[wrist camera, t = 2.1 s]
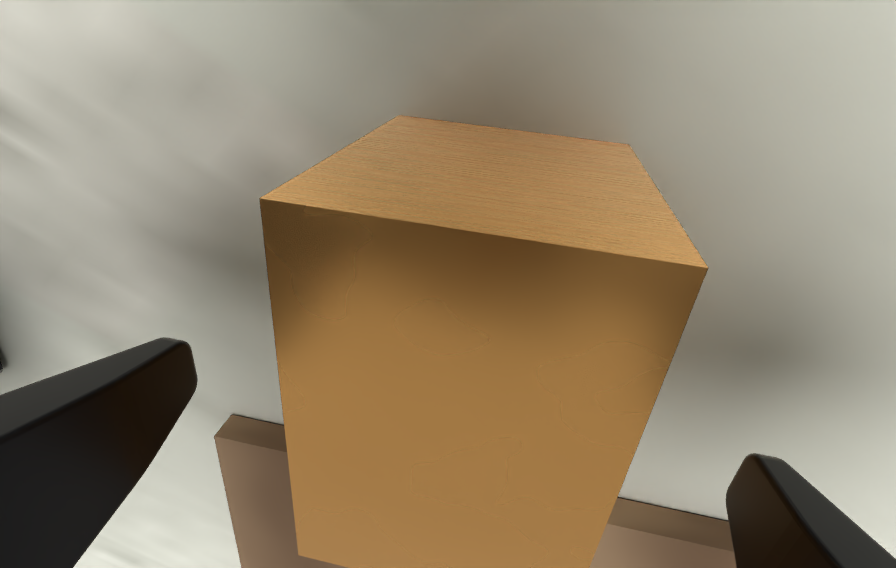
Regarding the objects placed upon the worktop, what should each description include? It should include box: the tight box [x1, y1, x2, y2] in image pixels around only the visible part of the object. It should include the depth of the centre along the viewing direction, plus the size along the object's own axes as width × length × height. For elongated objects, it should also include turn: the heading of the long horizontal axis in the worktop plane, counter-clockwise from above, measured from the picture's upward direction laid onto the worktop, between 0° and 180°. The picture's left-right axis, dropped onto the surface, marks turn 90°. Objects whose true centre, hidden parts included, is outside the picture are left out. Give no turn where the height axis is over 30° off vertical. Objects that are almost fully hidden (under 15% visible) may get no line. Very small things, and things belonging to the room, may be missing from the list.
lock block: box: [259, 115, 708, 568], centre depth 10 cm, size 5×7×6 cm
